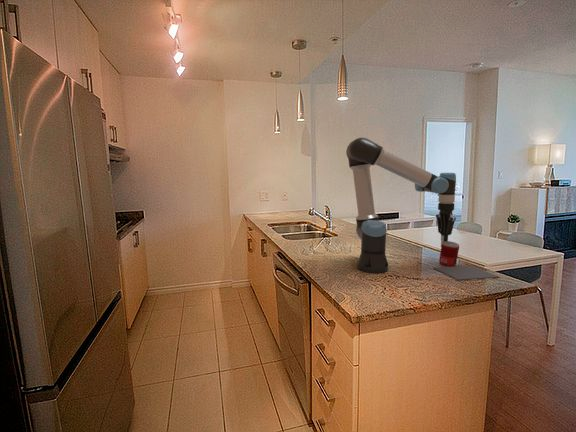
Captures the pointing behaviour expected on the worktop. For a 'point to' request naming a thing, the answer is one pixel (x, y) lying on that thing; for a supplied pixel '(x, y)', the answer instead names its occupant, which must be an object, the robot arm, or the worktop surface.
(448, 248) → the canned food
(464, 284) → the worktop surface
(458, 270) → the rubber mat
